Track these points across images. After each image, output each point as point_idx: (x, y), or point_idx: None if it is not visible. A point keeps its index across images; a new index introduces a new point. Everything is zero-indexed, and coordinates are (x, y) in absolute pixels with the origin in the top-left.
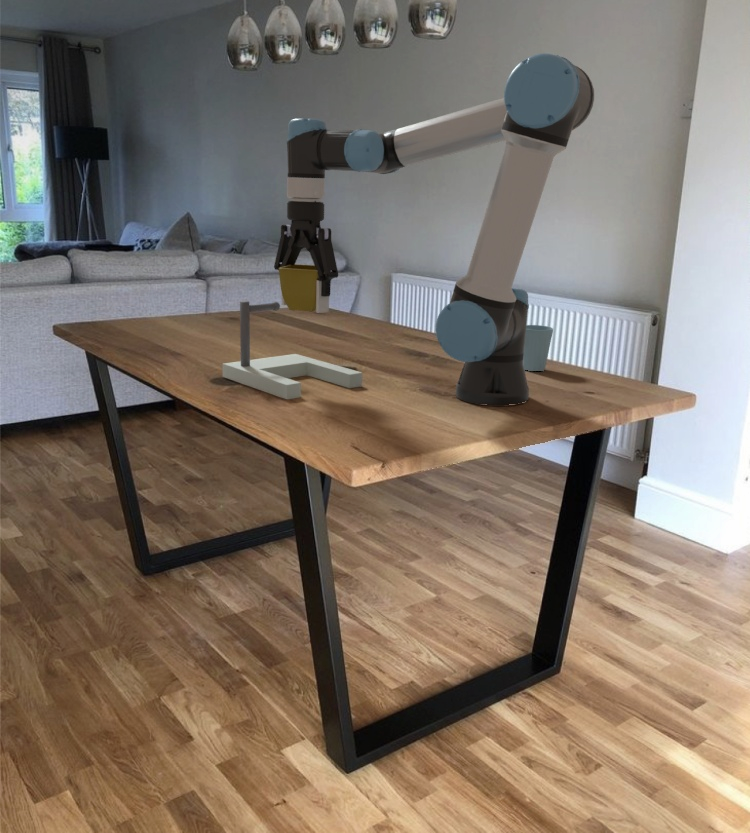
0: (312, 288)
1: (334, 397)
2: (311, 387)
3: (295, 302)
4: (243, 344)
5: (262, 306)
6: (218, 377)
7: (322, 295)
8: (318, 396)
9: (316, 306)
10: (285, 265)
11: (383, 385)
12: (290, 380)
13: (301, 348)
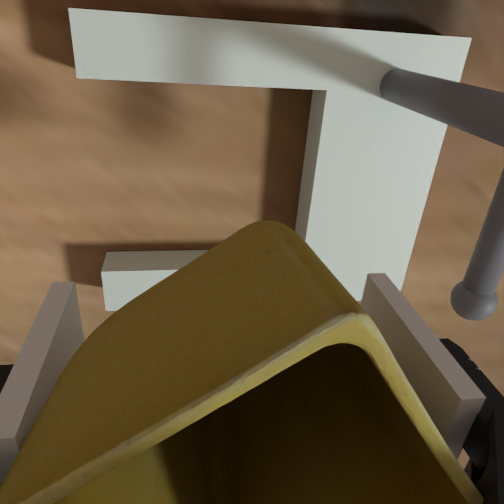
0: (76, 370)
1: (34, 156)
2: (174, 176)
3: (204, 255)
4: (429, 82)
5: (492, 229)
6: (451, 20)
7: (11, 368)
8: (68, 125)
9: (63, 301)
10: (495, 472)
11: (91, 332)
12: (125, 69)
13: (492, 381)
